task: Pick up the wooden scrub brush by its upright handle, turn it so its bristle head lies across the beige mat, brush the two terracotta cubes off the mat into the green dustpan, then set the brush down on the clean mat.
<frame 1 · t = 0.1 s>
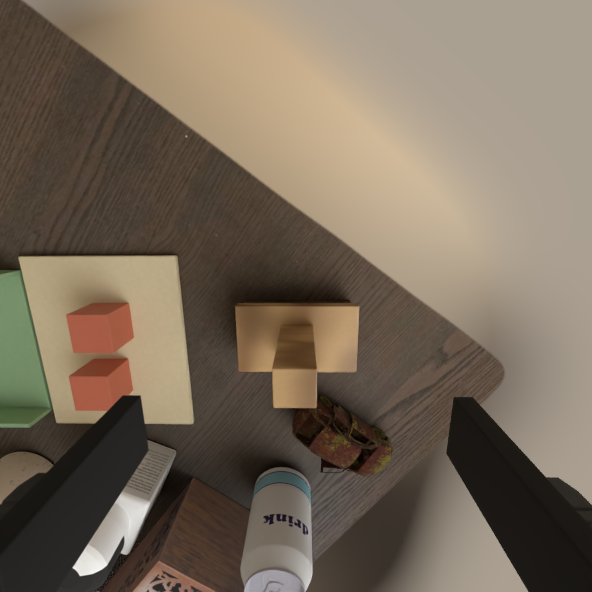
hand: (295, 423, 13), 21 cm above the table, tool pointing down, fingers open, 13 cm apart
beverage can: (283, 482, 41), on the table
container: (140, 460, 40), on the table
tissue box cover: (189, 562, 44), on the table
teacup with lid: (30, 485, 42), on the table
toy car: (339, 428, 38), on the table
cube 1: (113, 374, 36), point 1 cm above the table, touching mat
mat: (114, 343, 36), on the table
cube 2: (113, 320, 35), point 1 cm above the table, touching mat
brush: (297, 327, 35), on the table
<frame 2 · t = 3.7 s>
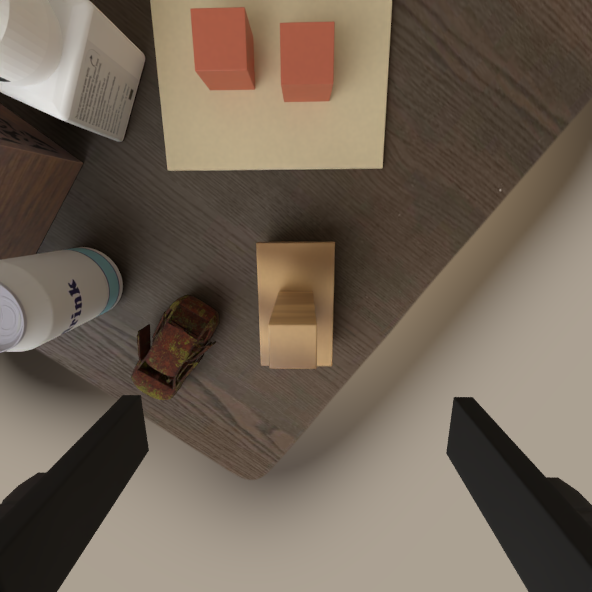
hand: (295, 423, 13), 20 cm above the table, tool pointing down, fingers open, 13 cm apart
beverage can: (96, 278, 33), on the table
container: (96, 83, 29), on the table
toy car: (178, 341, 35), on the table
cube 1: (231, 64, 27), point 1 cm above the table, touching mat
mat: (272, 69, 28), on the table
cube 2: (306, 75, 27), point 1 cm above the table, touching mat
brush: (296, 297, 33), on the table
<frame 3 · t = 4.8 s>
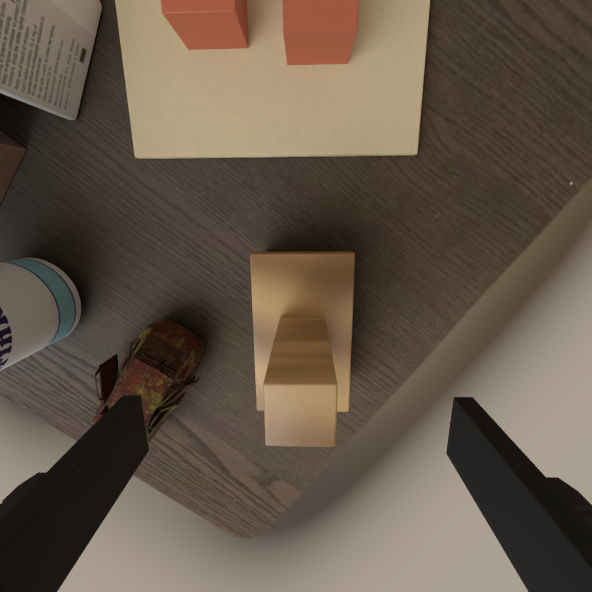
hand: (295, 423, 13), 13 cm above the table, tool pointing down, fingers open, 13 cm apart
beverage can: (50, 296, 26), on the table
container: (39, 42, 22), on the table
toy car: (155, 373, 28), on the table
cube 1: (216, 13, 20), point 1 cm above the table, touching mat
mat: (271, 21, 21), on the table
cube 2: (317, 29, 20), point 1 cm above the table, touching mat
brush: (302, 321, 26), on the table
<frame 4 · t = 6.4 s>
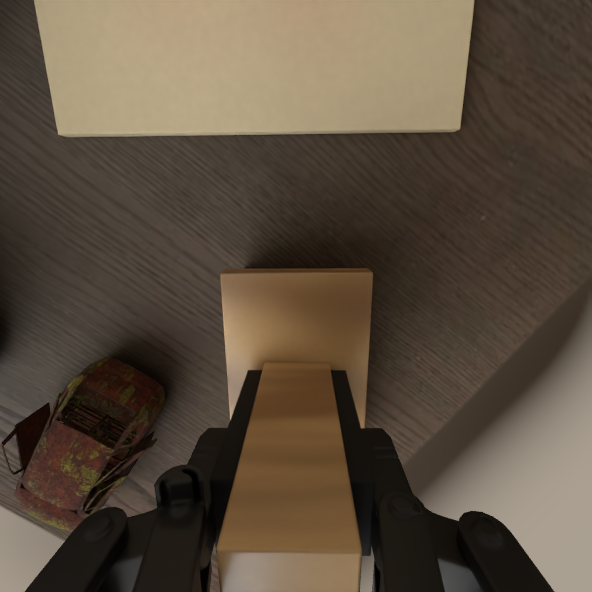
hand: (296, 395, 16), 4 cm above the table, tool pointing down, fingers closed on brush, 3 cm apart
toy car: (103, 425, 21), on the table
brush: (298, 358, 19), on the table, touching gripper
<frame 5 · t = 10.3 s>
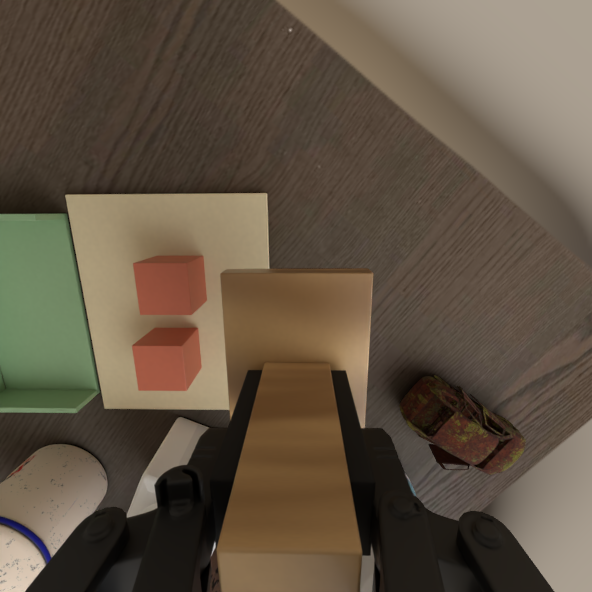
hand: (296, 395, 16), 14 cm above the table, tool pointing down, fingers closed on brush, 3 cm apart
beverage can: (374, 481, 34), on the table
dustpan: (36, 309, 29), on the table
container: (203, 455, 33), on the table
tissue box cover: (254, 576, 37), on the table
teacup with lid: (69, 484, 35), on the table
toy car: (451, 416, 31), on the table
cube 1: (178, 347, 29), point 1 cm above the table, touching mat
mat: (179, 309, 29), on the table
cube 2: (182, 278, 27), point 1 cm above the table, touching mat
brush: (298, 358, 19), point 10 cm above the table, touching gripper
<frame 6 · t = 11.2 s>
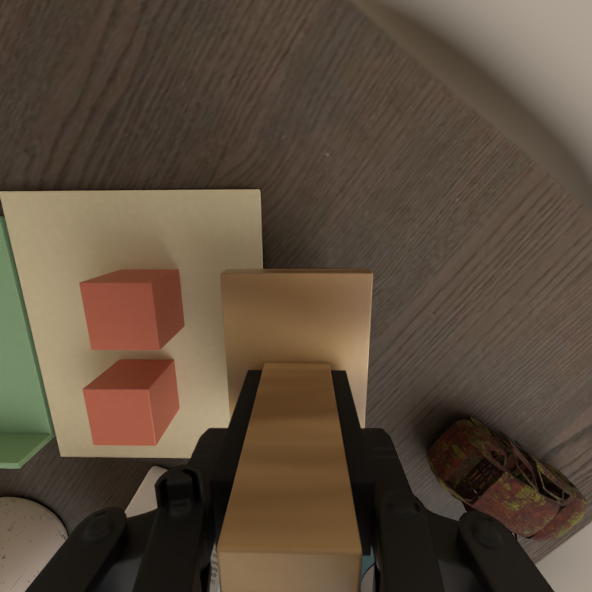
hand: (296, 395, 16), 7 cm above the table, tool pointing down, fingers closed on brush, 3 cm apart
beverage can: (393, 540, 28), on the table
container: (184, 510, 27), on the table
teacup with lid: (23, 542, 29), on the table
toy car: (488, 464, 25), on the table
cube 1: (150, 384, 23), point 1 cm above the table, touching mat
mat: (151, 336, 23), on the table
cube 2: (153, 298, 22), point 1 cm above the table, touching mat
brush: (298, 358, 19), point 3 cm above the table, touching gripper
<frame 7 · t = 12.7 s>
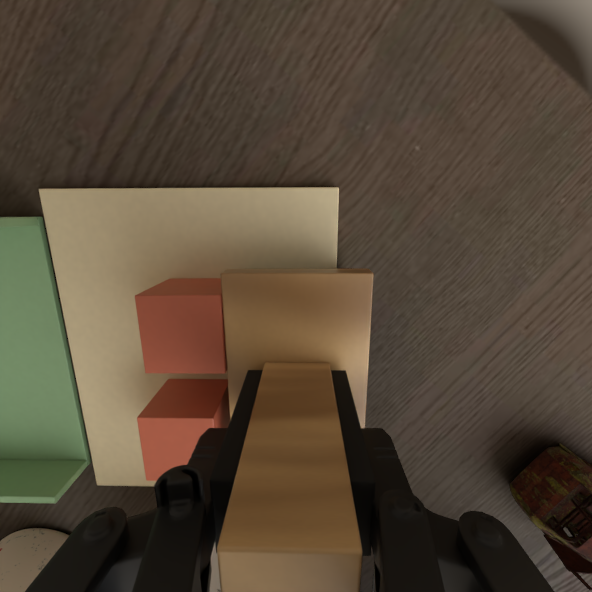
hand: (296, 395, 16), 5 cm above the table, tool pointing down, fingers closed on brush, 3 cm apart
dustpan: (1, 351, 21), on the table
container: (230, 542, 25), on the table
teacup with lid: (50, 576, 26), on the table
toy car: (573, 495, 23), on the table
cube 1: (201, 406, 21), point 1 cm above the table, touching mat
mat: (204, 352, 20), on the table
cube 2: (205, 311, 19), point 1 cm above the table, touching mat
brush: (298, 358, 19), point 1 cm above the table, touching gripper
when the fingers open (5 cm above the table, at t = 21.7 s): brush stays where it is, resting on mat.
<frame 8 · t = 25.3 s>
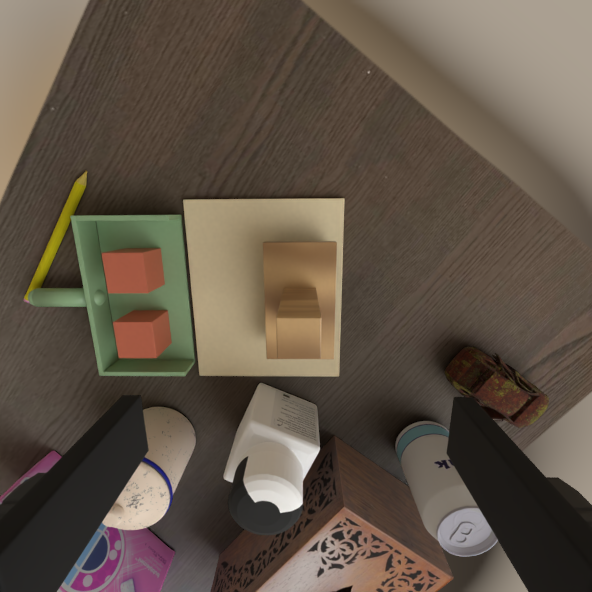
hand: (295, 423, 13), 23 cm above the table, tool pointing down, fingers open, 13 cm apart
beverage can: (420, 438, 40), on the table
dustpan: (149, 292, 36), on the table
container: (276, 416, 40), on the table
tissue box cover: (315, 524, 44), on the table
pencil: (61, 238, 35), on the table
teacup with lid: (161, 442, 41), on the table
toy car: (485, 381, 38), on the table
cube 1: (152, 326, 36), resting on dustpan
mat: (266, 292, 35), on the table
gum box: (100, 514, 44), on the table
cube 2: (144, 266, 35), resting on dustpan
brush: (300, 294, 35), point 1 cm above the table, touching mat
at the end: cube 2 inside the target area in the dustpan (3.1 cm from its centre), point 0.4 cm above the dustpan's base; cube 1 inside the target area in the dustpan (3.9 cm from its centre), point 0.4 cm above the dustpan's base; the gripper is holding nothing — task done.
